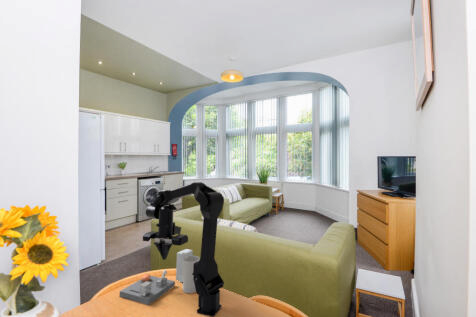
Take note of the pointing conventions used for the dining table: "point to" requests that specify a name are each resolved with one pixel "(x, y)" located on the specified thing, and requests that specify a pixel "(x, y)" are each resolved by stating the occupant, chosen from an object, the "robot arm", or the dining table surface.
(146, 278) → the push button
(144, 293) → the block
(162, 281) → the toggle lever
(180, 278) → the skincare box
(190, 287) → the mug
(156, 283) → the control panel
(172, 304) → the dining table surface
